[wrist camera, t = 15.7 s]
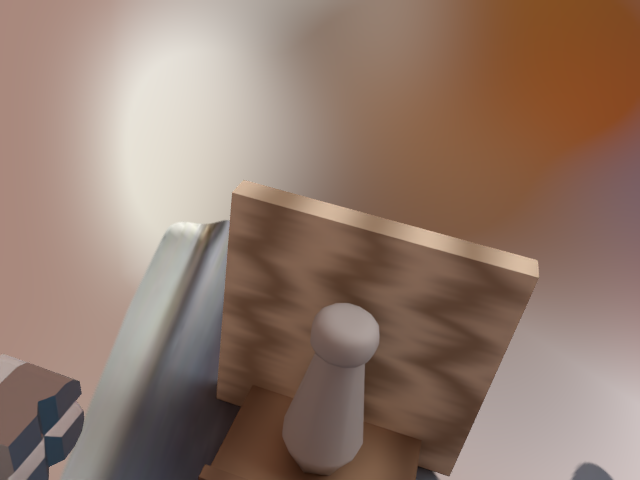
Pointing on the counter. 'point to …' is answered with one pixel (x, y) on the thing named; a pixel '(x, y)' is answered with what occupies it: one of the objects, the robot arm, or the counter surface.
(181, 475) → the counter surface
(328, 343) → the salt shaker
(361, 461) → the cleat ledge
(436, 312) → the wall board
